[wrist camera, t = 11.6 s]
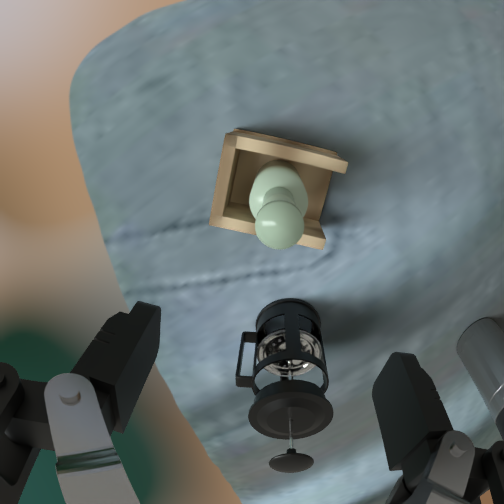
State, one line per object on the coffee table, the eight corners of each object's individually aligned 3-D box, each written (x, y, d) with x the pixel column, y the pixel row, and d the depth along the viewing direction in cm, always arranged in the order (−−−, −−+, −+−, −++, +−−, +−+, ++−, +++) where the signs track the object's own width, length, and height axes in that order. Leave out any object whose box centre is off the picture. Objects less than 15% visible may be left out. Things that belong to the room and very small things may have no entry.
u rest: (335, 151, 35) (349, 159, 29) (314, 229, 39) (321, 252, 33) (235, 128, 35) (226, 130, 28) (219, 208, 39) (208, 227, 32)
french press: (329, 299, 43) (360, 440, 22) (320, 350, 47) (336, 483, 26) (244, 296, 44) (219, 439, 23) (244, 347, 47) (225, 481, 26)
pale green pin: (305, 165, 35) (325, 199, 21) (294, 207, 37) (306, 267, 23) (260, 155, 35) (250, 182, 21) (251, 198, 37) (235, 252, 23)
